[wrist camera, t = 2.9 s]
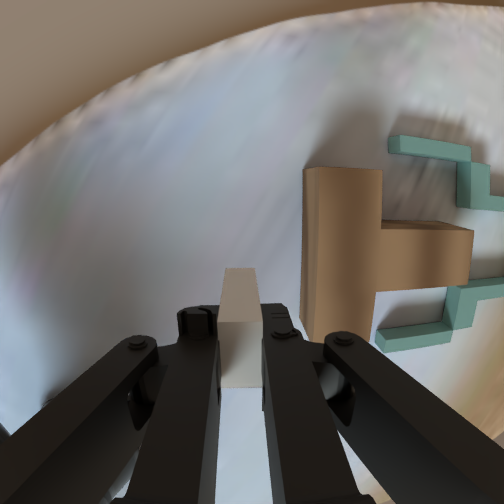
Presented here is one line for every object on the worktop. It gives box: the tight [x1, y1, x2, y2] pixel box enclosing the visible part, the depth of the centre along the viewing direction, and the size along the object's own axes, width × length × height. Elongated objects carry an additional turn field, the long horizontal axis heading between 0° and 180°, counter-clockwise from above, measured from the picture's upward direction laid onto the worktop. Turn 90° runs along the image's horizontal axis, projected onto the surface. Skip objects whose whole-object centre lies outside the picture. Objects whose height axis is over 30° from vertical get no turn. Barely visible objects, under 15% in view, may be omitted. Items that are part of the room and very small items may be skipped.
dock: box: [375, 135, 504, 353], centre depth 29 cm, size 22×21×2 cm
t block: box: [299, 167, 474, 343], centre depth 27 cm, size 15×14×6 cm
